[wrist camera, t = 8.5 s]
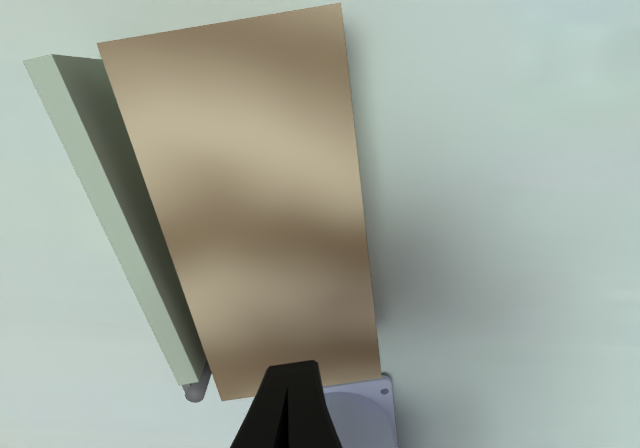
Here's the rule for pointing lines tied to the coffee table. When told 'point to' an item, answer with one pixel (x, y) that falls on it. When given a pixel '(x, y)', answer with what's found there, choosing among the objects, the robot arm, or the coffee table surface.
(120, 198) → the sage green panel
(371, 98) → the coffee table surface
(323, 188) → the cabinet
